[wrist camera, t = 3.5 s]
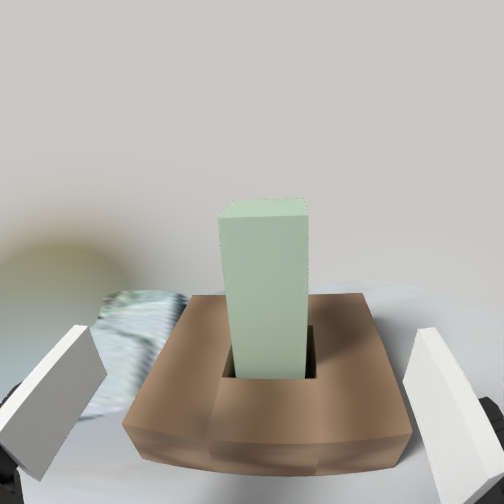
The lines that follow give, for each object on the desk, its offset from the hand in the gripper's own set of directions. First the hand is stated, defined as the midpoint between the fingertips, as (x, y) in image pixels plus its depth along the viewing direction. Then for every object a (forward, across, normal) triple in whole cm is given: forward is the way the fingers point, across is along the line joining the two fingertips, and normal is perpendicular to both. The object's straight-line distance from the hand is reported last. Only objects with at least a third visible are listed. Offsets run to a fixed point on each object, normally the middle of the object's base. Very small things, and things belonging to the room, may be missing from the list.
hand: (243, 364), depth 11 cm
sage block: (+8, 0, -10) cm, 13 cm away
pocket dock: (+8, 0, -10) cm, 13 cm away
